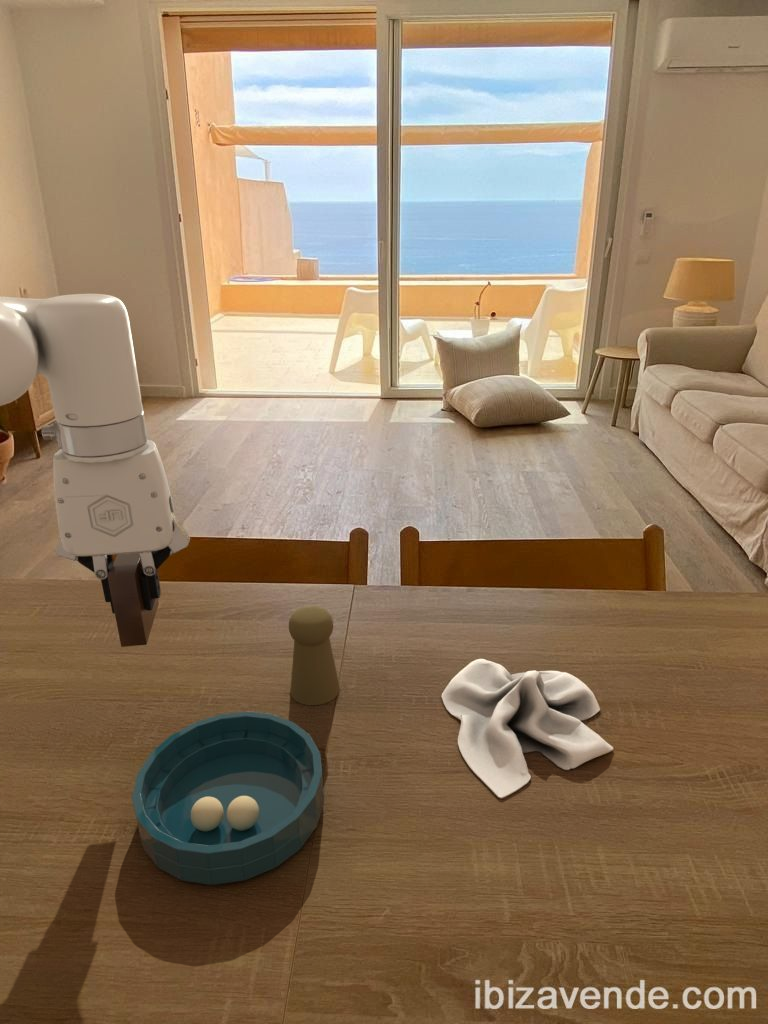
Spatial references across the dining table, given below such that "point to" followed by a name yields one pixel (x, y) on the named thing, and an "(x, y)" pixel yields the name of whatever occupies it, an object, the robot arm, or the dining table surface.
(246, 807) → the dough ball
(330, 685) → the olive chess pawn
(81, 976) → the dining table surface
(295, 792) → the bowl
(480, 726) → the cloth
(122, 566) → the brown brick
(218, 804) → the dough ball
